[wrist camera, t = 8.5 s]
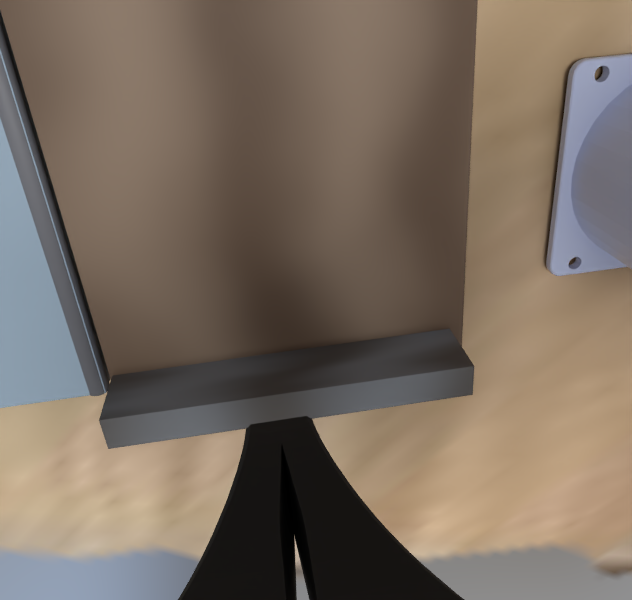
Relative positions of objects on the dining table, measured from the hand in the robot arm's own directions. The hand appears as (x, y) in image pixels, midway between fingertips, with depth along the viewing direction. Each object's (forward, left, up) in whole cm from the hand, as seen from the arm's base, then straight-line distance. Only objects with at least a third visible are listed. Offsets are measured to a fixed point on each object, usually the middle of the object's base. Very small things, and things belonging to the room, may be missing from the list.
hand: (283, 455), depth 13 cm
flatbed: (-1, -6, -10) cm, 12 cm away
